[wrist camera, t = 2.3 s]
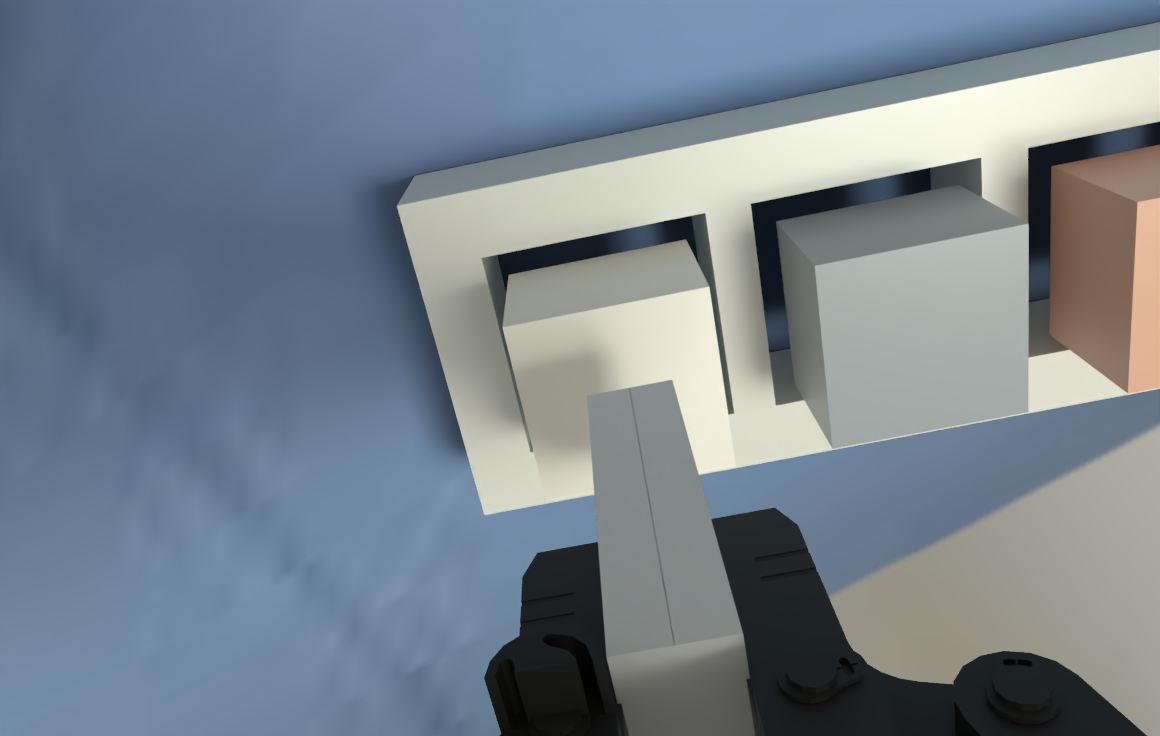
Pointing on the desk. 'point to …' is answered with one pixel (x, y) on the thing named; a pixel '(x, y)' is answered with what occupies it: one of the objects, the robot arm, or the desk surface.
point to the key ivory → (613, 353)
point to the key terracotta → (1108, 264)
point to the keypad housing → (725, 225)
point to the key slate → (907, 314)
